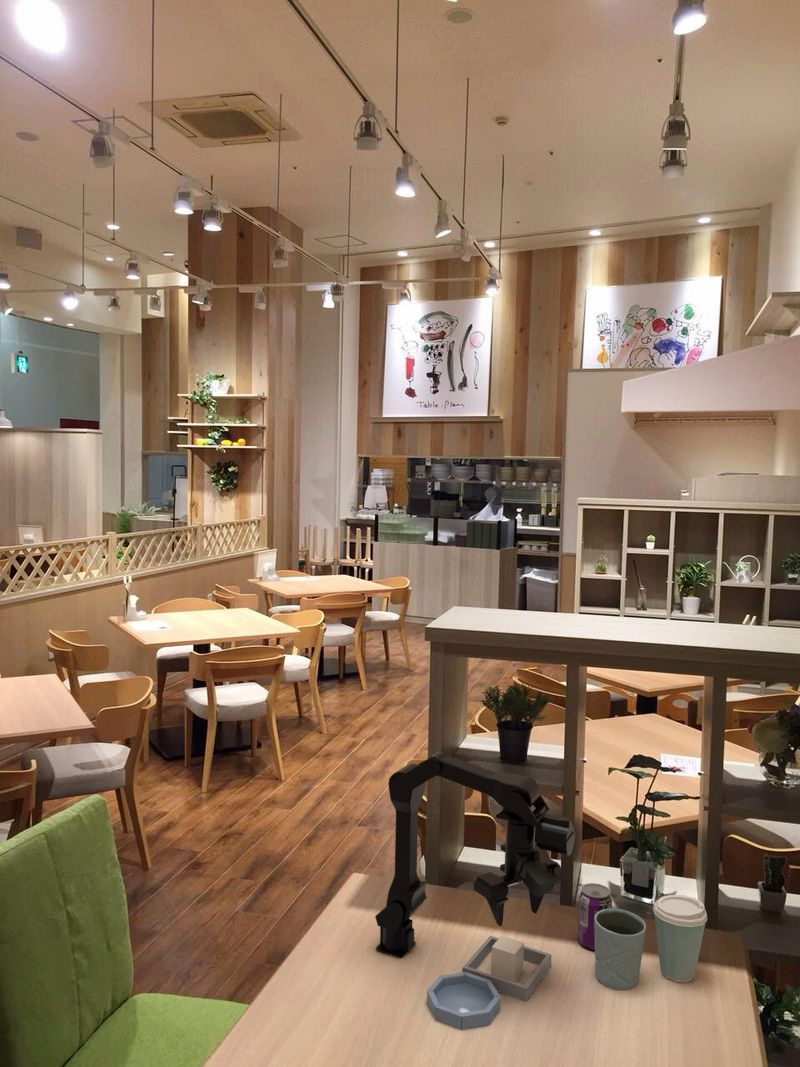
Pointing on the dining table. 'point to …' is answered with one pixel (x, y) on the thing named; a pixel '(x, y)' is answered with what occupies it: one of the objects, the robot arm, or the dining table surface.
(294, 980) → the dining table surface
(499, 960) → the stone block
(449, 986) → the ceramic bowl
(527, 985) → the open square frame
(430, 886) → the dining table surface
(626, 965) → the embossed ceramic cup
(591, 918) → the beverage can
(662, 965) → the disposable coffee cup
